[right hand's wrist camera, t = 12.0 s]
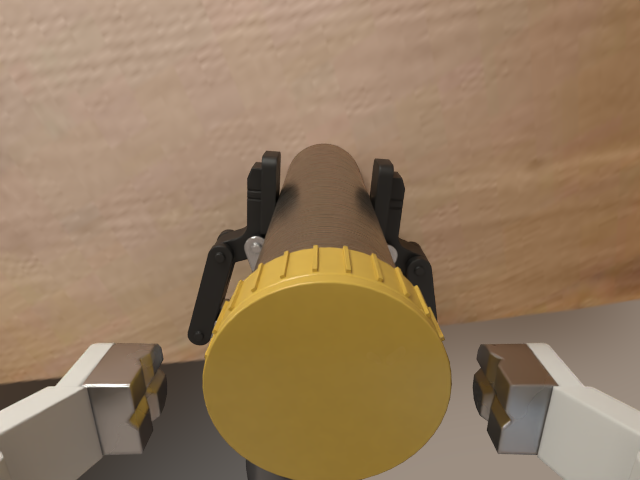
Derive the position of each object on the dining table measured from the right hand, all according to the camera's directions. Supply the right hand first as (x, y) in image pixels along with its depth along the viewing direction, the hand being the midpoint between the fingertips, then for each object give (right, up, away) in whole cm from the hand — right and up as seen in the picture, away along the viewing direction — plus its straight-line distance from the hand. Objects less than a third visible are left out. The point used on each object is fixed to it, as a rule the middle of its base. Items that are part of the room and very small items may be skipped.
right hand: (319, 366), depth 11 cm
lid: (0, 0, -1) cm, 1 cm away
